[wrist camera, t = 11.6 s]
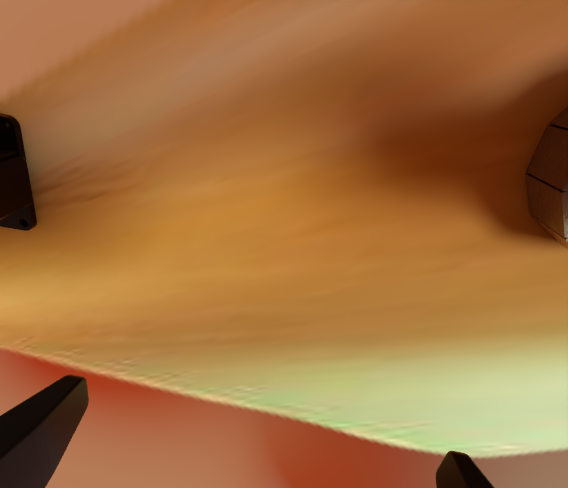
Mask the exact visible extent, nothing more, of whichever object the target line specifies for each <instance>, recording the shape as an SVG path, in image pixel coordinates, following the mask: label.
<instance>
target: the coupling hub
mask: <svg viewBox="0 0 568 488" xmlns="http://www.w3.org/2000/svg"><path fill="white" fill-rule="evenodd" d="M550 124H551V125H552V126H548V127H547V129H546V131H545V133H544V136H543V138H542V140H541V142H540V144H539V146H538V148H537V150H536V152H535V155H534V157H533V159H532V161H531V163H530V165H529V167H528V169H527V173H528V174H526V180H527V190H528V200H529V210H530V214H531V216H532V217H533V218H534V219H535V220H536V221H537V222H538V223H539V224H540V225H541V226H542V227H543V228H544V229H545V230H546V231H547V232H548V233H549V234H550V235H551V236H552V237H553V238H554V239H556V240H557V241H558V242H559V243H561V244H562V245H563V246H565V247H566V248H568V108H567V109H566V110H565V111H563V112H562V113H561V114H560V115H559V116H558V117H557V118H555V119H554V120H553V121H552V122H551V123H550Z"/></svg>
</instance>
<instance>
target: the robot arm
mask: <svg viewBox="0 0 568 488" xmlns="http://www.w3.org/2000/svg"><path fill="white" fill-rule="evenodd" d="M6 122H7V123H8V124H9V126H10V129H8V128H7V126H6ZM24 219H25V220H26V221H27V222H28V223H26V222H25V220H24ZM36 225H37V220H36V214H35V208H34V203H33V197H32V191H31V185H30V180H29V174H28V168H27V163H26V157H25V151H24V145H23V140H22V134H21V128H20V125H19V123H18V121H17V120H16V119H15V118H14V117H12V116H9V115H4V114H0V226H2V227H8V228H13V229H19V230H30V229H32V228H34V227H35V226H36ZM88 401H89V398H88V389H87V381H86V379H85V378H84V377H82V376H77V375H66V376H64V377H62V378H61V379H59V380H58V381H56V382H54V383H53V384H51V385H50V386H48V387H46V388H45V389H43V390H41V391H40V392H38V393H37V394H35V395H33V396H32V397H30V398H29V399H27V400H25V401H24V402H22V403H20V404H19V405H17V406H15V407H14V408H12V409H11V410H9V411H7V412H6V413H4V414H3V415H1V416H0V488H45V487H46V485H47V484H48V482H49V480H50V479H51V477H52V475H53V473H54V472H55V470H56V468H57V466H58V464H59V462H60V460H61V458H62V456H63V454H64V452H65V450H66V448H67V446H68V444H69V442H70V440H71V438H72V436H73V434H74V432H75V431H76V428H77V426H78V425H79V423H80V421H81V419H82V416H83V415H84V413H85V411H86V408H87V406H88ZM436 485H437V488H494V486H493V485H492V484H491V483H490V481H489V480H488V479H487V478H486V476H485V475H484V474H483V473H482V471H481V470H480V469H479V468H478V467H477V465H476V464H475V463H474V461H473V460H472V459H471V458H470V457H469V456H468V455H467V454H465V453H461V452H456V451H449V452H448V453H447V454H446V456H445V457H444V459H443V461H442V462H441V464H440V466H439V467H438V469H437V472H436Z"/></svg>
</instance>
